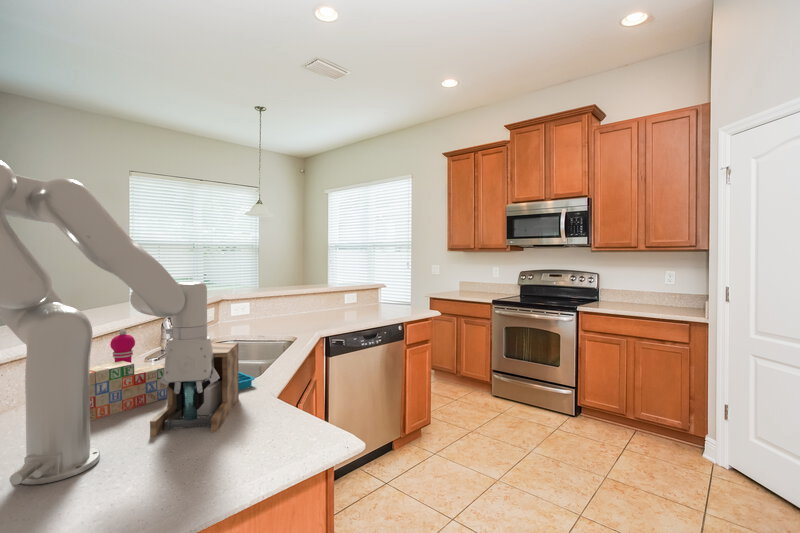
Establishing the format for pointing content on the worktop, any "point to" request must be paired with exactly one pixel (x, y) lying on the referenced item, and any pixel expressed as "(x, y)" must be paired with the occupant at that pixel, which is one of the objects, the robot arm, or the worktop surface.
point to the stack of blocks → (123, 387)
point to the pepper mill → (122, 346)
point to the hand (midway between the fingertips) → (190, 407)
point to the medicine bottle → (211, 398)
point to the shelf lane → (228, 374)
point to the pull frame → (188, 411)
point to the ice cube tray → (244, 380)
